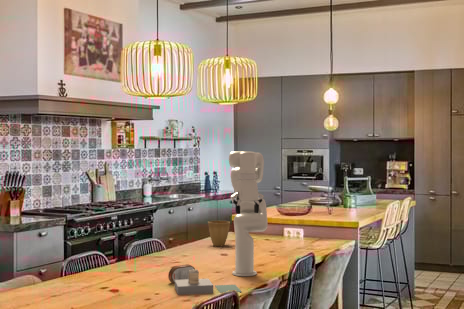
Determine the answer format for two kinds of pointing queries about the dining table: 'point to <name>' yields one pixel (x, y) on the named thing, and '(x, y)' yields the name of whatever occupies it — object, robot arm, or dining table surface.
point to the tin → (179, 272)
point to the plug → (193, 276)
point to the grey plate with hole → (193, 287)
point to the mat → (227, 288)
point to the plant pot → (218, 232)
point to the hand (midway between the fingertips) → (247, 213)
